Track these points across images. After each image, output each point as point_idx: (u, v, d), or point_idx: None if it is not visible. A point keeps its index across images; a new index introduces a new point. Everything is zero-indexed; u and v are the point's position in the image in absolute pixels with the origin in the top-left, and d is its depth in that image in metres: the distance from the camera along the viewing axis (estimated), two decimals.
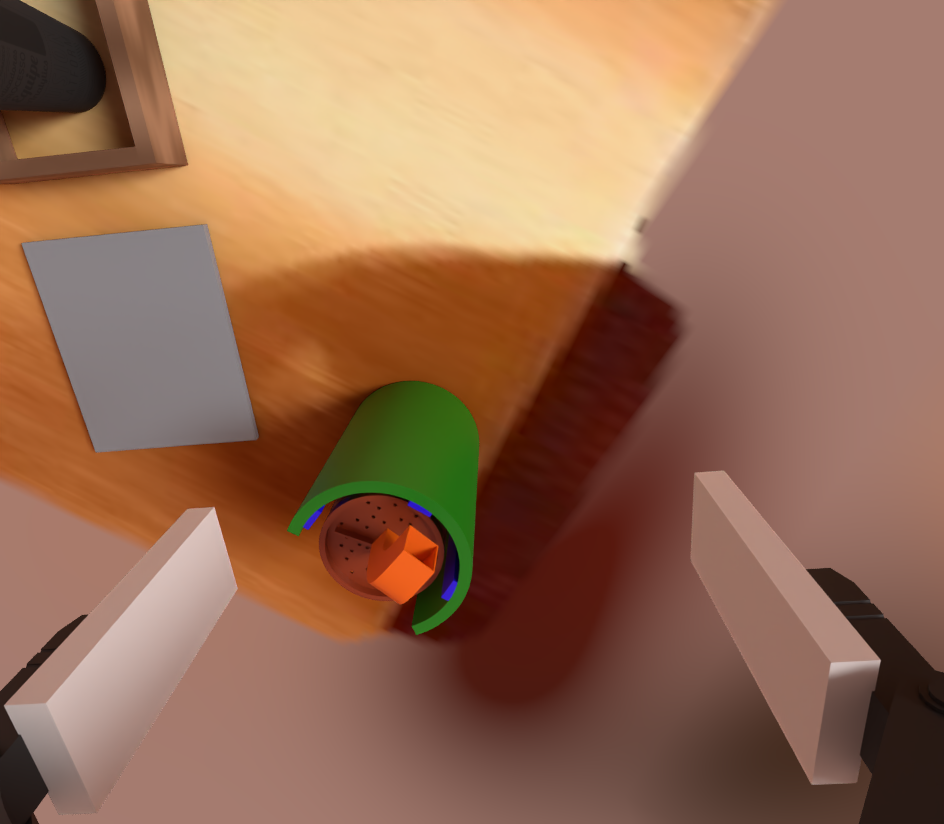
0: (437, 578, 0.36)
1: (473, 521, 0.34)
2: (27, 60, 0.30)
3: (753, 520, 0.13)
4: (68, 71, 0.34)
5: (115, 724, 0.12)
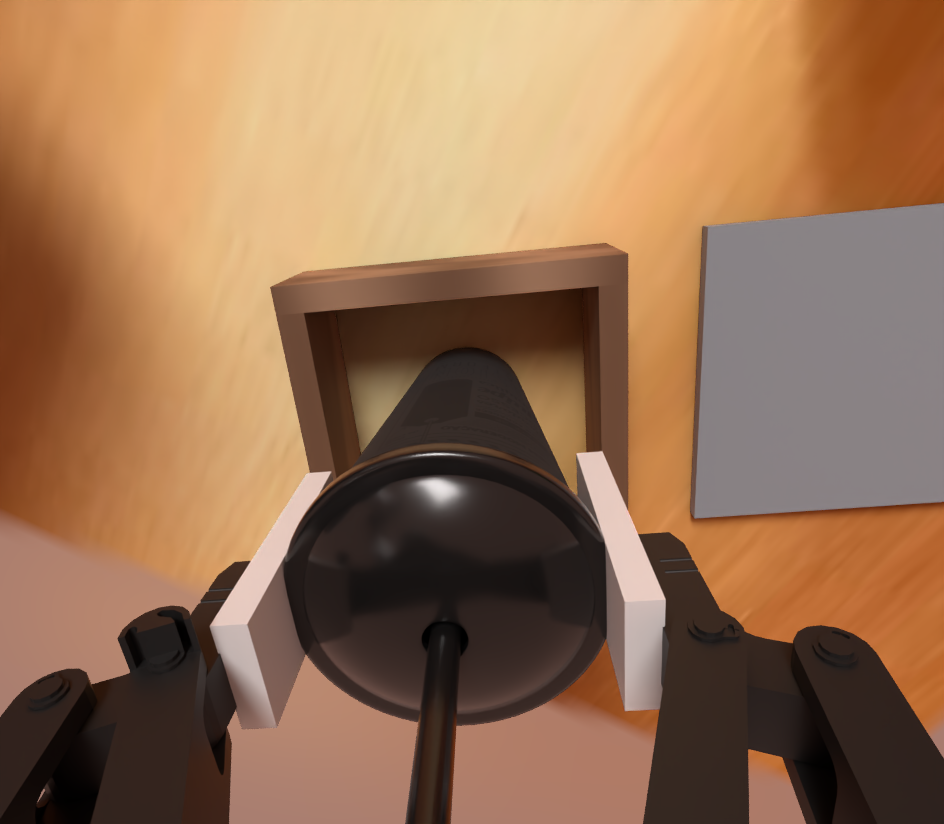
0: None
1: None
2: (487, 395, 0.18)
3: (609, 492, 0.15)
4: (484, 370, 0.21)
5: (283, 653, 0.13)
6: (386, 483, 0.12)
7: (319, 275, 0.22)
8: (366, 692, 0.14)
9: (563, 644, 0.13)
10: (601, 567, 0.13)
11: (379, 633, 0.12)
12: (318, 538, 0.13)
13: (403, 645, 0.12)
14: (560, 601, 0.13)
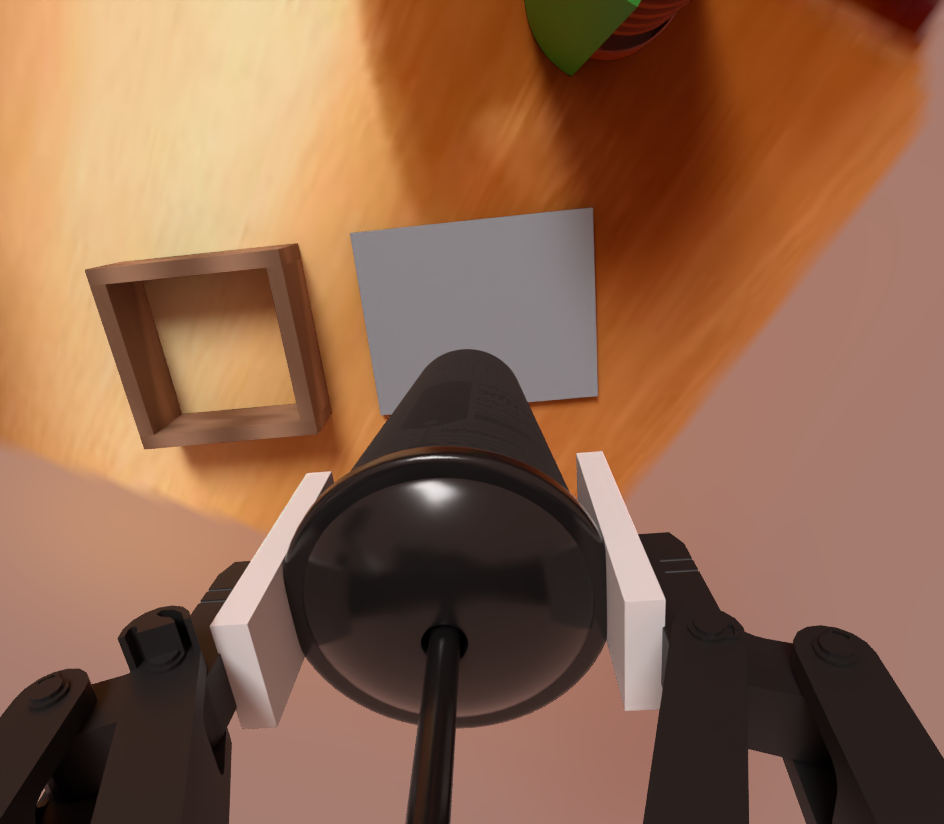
0: None
1: None
2: (487, 397, 0.18)
3: (610, 492, 0.15)
4: (484, 371, 0.21)
5: (284, 653, 0.13)
6: (385, 486, 0.12)
7: (122, 263, 0.39)
8: (366, 695, 0.14)
9: (563, 647, 0.13)
10: (601, 570, 0.13)
11: (379, 636, 0.12)
12: (317, 541, 0.13)
13: (403, 648, 0.12)
14: (560, 605, 0.12)
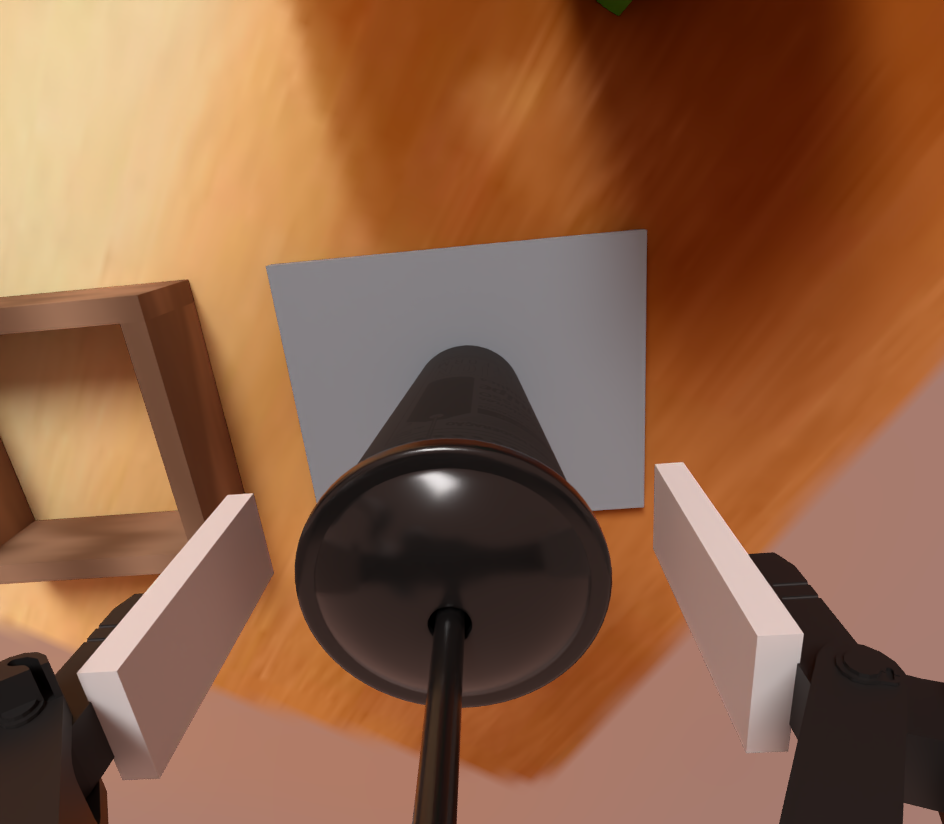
0: None
1: None
2: (489, 392, 0.18)
3: (704, 508, 0.14)
4: (485, 367, 0.22)
5: (173, 695, 0.12)
6: (395, 476, 0.13)
7: None
8: (373, 675, 0.15)
9: (561, 629, 0.14)
10: (598, 557, 0.14)
11: (388, 618, 0.13)
12: (329, 528, 0.13)
13: (410, 629, 0.13)
14: (559, 589, 0.13)
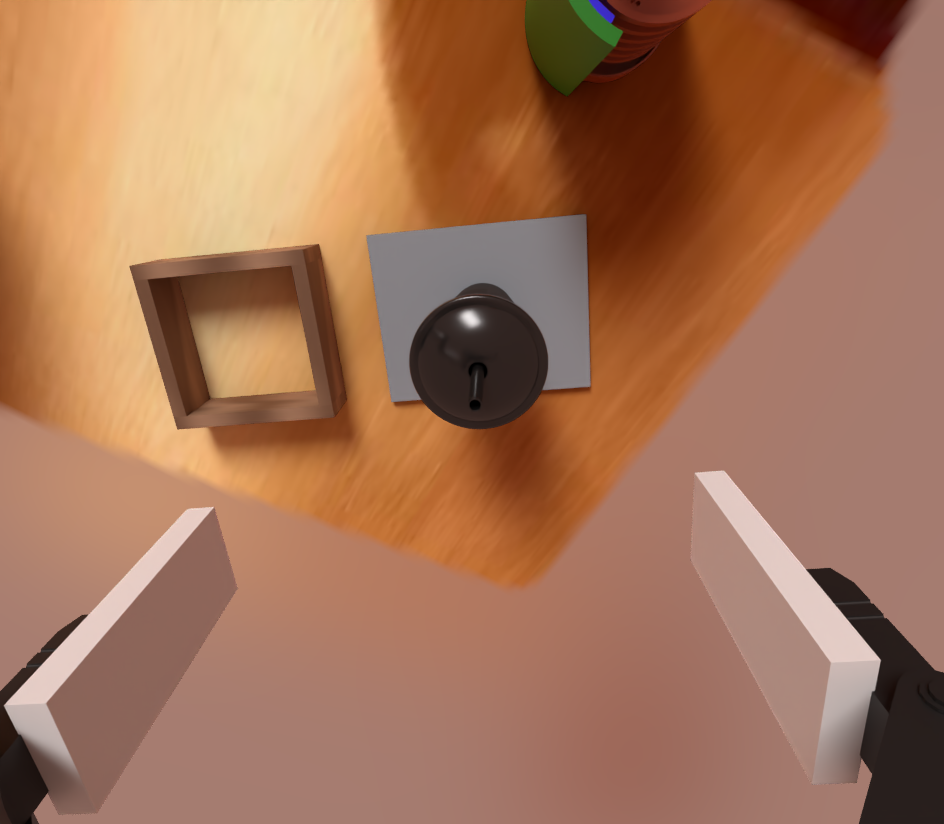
0: None
1: None
2: (495, 292, 0.36)
3: (753, 520, 0.13)
4: (493, 288, 0.40)
5: (115, 724, 0.12)
6: (455, 308, 0.31)
7: (161, 260, 0.43)
8: (441, 409, 0.33)
9: (525, 380, 0.32)
10: (541, 347, 0.32)
11: (451, 369, 0.31)
12: (426, 333, 0.31)
13: (461, 374, 0.31)
14: (524, 358, 0.31)
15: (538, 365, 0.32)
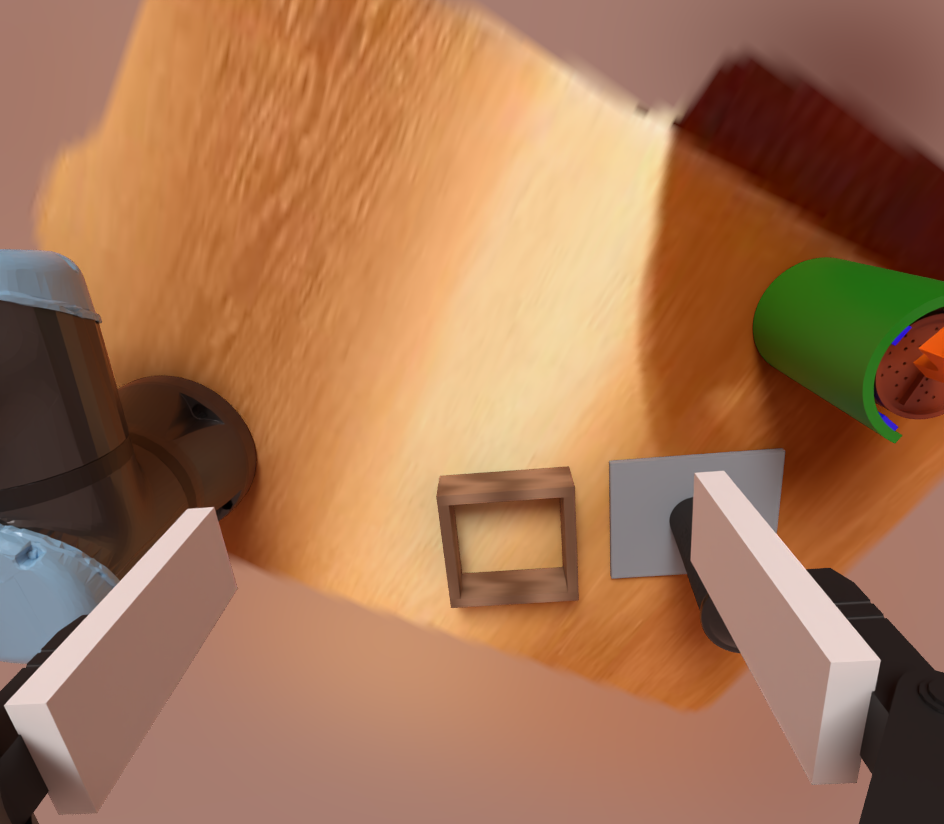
0: None
1: (922, 281, 0.37)
2: None
3: (753, 520, 0.13)
4: None
5: (115, 724, 0.12)
6: None
7: (450, 484, 0.55)
8: (720, 641, 0.45)
9: None
10: None
11: None
12: None
13: None
14: None
15: None
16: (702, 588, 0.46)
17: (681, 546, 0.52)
